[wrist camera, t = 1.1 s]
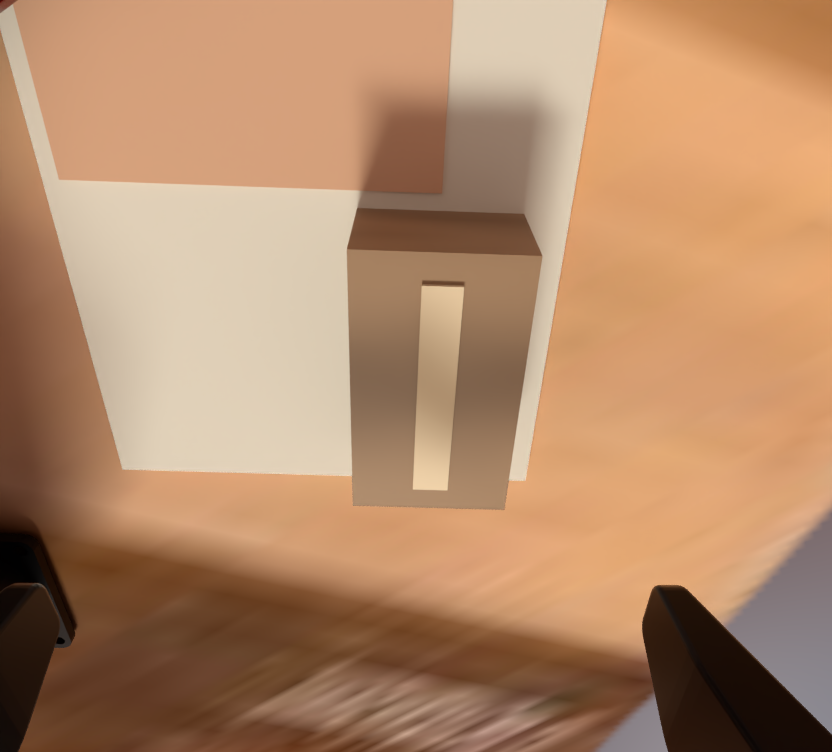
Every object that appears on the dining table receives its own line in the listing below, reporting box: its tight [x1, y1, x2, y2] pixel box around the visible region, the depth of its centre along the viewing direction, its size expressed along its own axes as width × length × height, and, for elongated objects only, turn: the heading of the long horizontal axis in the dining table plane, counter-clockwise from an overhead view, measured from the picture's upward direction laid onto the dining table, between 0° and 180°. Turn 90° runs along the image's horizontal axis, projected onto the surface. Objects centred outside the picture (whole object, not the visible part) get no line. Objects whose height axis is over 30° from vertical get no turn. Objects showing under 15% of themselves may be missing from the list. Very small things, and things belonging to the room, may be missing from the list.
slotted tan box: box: [347, 208, 543, 510], centre depth 18 cm, size 8×4×3 cm, turn 178°
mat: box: [0, 0, 607, 481], centre depth 18 cm, size 17×14×1 cm
